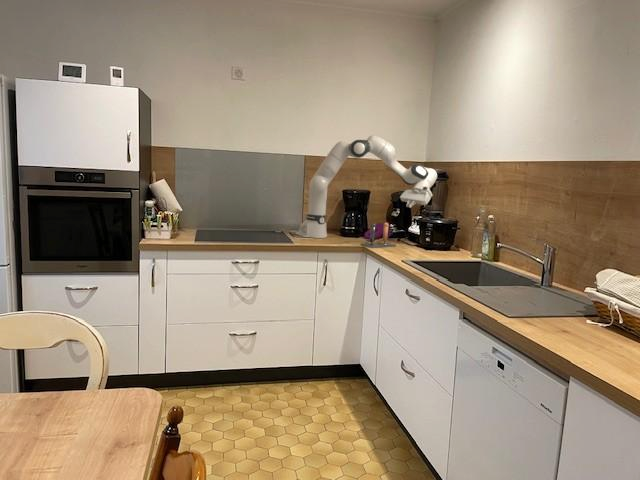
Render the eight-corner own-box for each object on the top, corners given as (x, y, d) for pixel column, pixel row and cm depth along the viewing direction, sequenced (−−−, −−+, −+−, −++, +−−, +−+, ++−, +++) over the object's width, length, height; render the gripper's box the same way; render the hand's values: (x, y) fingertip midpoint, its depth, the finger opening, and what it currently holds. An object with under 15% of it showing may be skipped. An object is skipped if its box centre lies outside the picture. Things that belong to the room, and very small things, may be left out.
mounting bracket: (375, 249, 307) (391, 235, 318) (373, 237, 304) (388, 224, 314) (364, 246, 314) (379, 233, 324) (361, 235, 310) (377, 222, 320)
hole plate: (360, 245, 279) (361, 241, 279) (383, 243, 291) (384, 239, 291) (372, 248, 272) (372, 243, 271) (395, 246, 283) (396, 242, 283)
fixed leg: (365, 243, 278) (366, 222, 277) (369, 242, 280) (370, 221, 278) (371, 244, 274) (373, 223, 272) (375, 244, 276) (377, 223, 274)
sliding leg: (378, 241, 285) (379, 221, 283) (381, 241, 287) (383, 221, 285) (384, 243, 280) (386, 222, 279) (388, 242, 282) (389, 222, 281)
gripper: (405, 185, 302) (393, 201, 298) (430, 188, 286) (418, 205, 282) (409, 192, 305) (397, 208, 301) (434, 195, 290) (423, 212, 285)
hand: (408, 206), depth 291 cm, fingers closed
